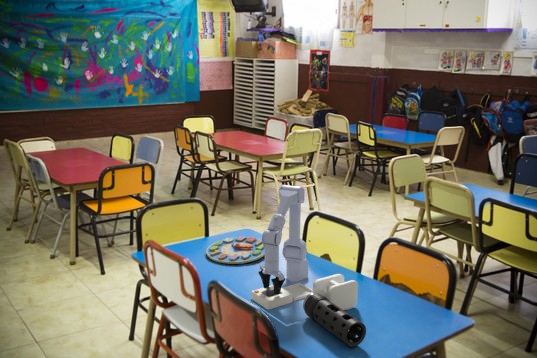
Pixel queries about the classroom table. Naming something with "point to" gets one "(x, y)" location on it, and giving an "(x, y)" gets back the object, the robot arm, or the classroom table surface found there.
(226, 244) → the shape sorting clock
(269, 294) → the plug
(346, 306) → the cable organizer
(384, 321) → the classroom table surface
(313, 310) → the muzzle brake
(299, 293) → the tray
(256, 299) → the socket block
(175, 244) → the classroom table surface
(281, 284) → the robot arm
